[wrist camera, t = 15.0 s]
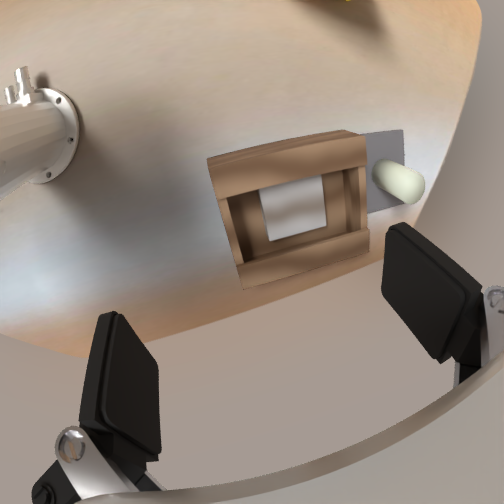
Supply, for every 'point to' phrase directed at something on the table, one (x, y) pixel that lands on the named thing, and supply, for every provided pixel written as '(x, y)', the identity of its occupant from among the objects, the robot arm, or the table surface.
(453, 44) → the table surface
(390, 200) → the rubber mat
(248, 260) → the walnut box
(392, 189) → the sage cylinder
